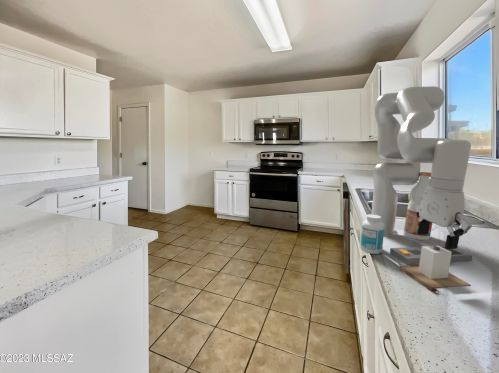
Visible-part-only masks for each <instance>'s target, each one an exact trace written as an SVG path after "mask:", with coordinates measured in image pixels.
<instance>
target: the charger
mask: <svg viewBox="0 0 499 373" xmlns="http://www.w3.org/2000/svg"><path fill="white" fill-rule="evenodd" d="M440 246H441V245H427V246H426V245H425V246H421V247H422V249H421V256H420V263H419V264H418V265H419V270H418V271H419V272H421V273H422V274H424V275H425V276H427V277H429V278H430V279H436V278H448V273H450V266H451V262H450V261H451V254H452V252H450V251H448V250H446V249H444V248H442V247H440Z"/></svg>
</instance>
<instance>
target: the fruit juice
mask: <svg viewBox="0 0 499 373" xmlns="http://www.w3.org/2000/svg"><path fill="white" fill-rule="evenodd" d="M430 177H431V172H427V171H426V172H425V171H420V176H419V180H418V182H417V183H416V185H415V186H413V188H411V191H410V200H409V201H408V204H407V209H406V210H407V211H406V216H405V221H404V222H405V223H404V227H403V236H406V237H407V238H410V239H414V240H419V241H420V240H421V241H426V240H427V241H428V240H430V238H431V233H432V228H433V223H432V222H430V221H428V222H430V227H429V233H428V234H426V235H419V234H418V228H419V221H418V216H417V214H416V213H417V211H416V205H420V204H421V201H422V197H423V194H424V192H425V189H426V187H427V186H429V182H430V181H429V178H430Z"/></svg>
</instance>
